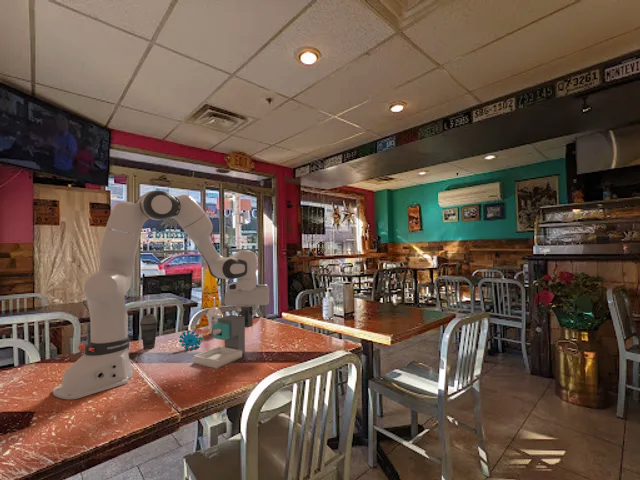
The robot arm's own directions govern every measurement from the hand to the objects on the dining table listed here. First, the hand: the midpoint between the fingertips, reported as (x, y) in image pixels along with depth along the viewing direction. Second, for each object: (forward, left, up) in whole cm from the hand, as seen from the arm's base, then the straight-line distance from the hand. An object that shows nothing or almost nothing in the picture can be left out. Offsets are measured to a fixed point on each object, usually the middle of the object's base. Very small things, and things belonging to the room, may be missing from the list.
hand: (247, 314), depth 145 cm
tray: (-18, 0, -15) cm, 23 cm away
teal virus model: (-11, +23, -16) cm, 30 cm away
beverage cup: (-21, +41, -15) cm, 48 cm away
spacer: (-16, 0, -7) cm, 17 cm away
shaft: (-9, 0, -5) cm, 11 cm away
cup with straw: (+11, +33, -15) cm, 38 cm away
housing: (-10, 0, -15) cm, 18 cm away
